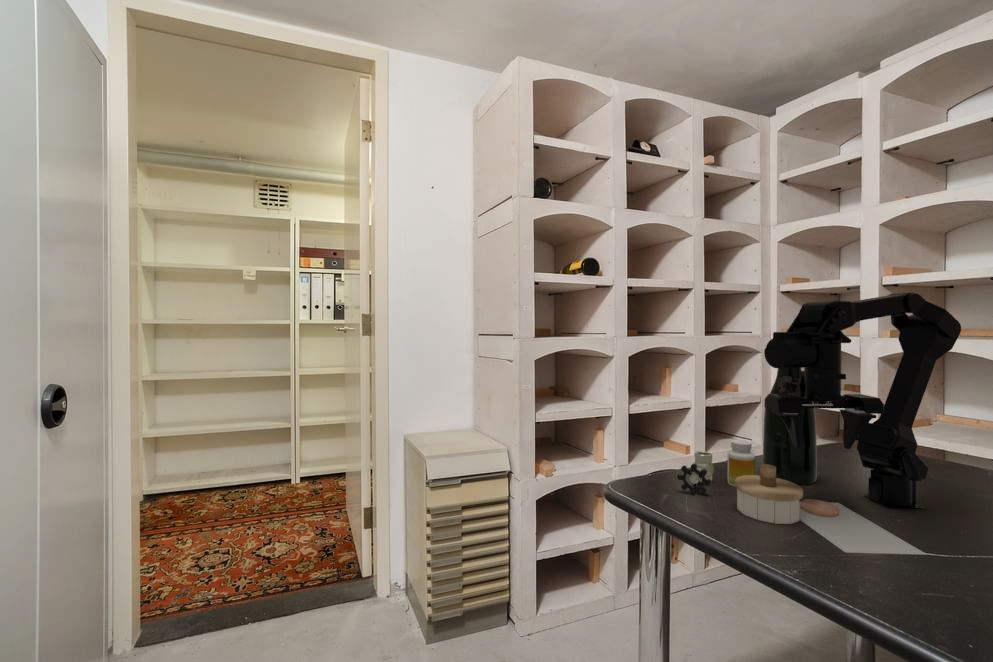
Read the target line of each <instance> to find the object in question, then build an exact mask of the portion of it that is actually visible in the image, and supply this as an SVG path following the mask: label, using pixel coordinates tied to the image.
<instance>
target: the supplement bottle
mask: <svg viewBox="0 0 993 662" xmlns="http://www.w3.org/2000/svg"><path fill="white" fill-rule="evenodd" d="M730 447H731V449H729V450H728V452H727V473H726V474H727V484H728V485H730V486H732V487H735V479H736V478H737V477H740V476H744V475H756V455H755V454H754V452H752V442H750V441H748V440H743V439H733V440H731V442H730Z"/></svg>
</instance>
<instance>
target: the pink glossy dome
mask: <svg viewBox="0 0 993 662" xmlns="http://www.w3.org/2000/svg"><path fill="white" fill-rule="evenodd" d="M831 503H832V502H828V501H825V500H819V499H815V498H814V499H812V498H811V499H810V498H808V499H806V498H805V499H801V501H800V507H801V509H802V510H804V511H805V512H807V513H810V514H813V515H817V516H822V517H837V516H839V508H838V507H837V506H836V505H834V504H831Z"/></svg>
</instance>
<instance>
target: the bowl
mask: <svg viewBox="0 0 993 662" xmlns="http://www.w3.org/2000/svg"><path fill="white" fill-rule="evenodd" d="M736 491H737V492H736V495H737V496H736V509H737V510H738V511H739V512H740V513H741V514H743V515H744V516H747V517H748V518H751V519H754V520H756V521H762V522H765V523H771V524H778V525H779V524H780V525H782V524H783V525H791V524H795V523H797V522H800V520H799V502H801V501H800V500H801V499H800V500H797V501H789V502H783V501H772V500H766V499H761V498H757V497H753V496H750V495H747V494H745V493H743V492H741V491H739V490H738V489H737V488H736Z"/></svg>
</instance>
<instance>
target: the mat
mask: <svg viewBox="0 0 993 662" xmlns="http://www.w3.org/2000/svg"><path fill="white" fill-rule="evenodd" d="M800 502H801V501H800ZM800 502H799V521H801V522H802V523H803V524H804V525H806V526H808V527H809V528H811V529H812V530H814V532H816V533H817V534H819V535H820V536H822V537H823V538H824V539H826V540H827V541H828V542H830V543H831V544H833V545H834V546H835V547H837V548H838V549H840V550H841V551H842V552H844V553H846V554H871V555H873V554H874V555H876V554H879V555H912V556H913V555H918V556H919V555H920V556H928V554H927V553H926V552H924V551H922V550H920V549H919V548H917V547H916V546H913V545H911V544H910V543H908V542H907V541H905V540H903V539H901V538H899V537H898V536H896V535H894V534H893V533H891V532H890V531H888V530H886V529H884V528H882V527H881V526H879V525H877V524H876V523H874V522H872V521H870V520H869V519H867V518H866V517H864V516H862V515H861V514H859V513H857V512H854V511H853V510H851V509H850V508H848V507H846V506H844V505H843V504H842V503H839V502H830V503H831V504H834V505H836V506H837V507H838V508H839V516H837V517H822V516H817V515H813V514H810V513H807V512H805V511H804V510H802V509H801V507H800Z"/></svg>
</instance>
